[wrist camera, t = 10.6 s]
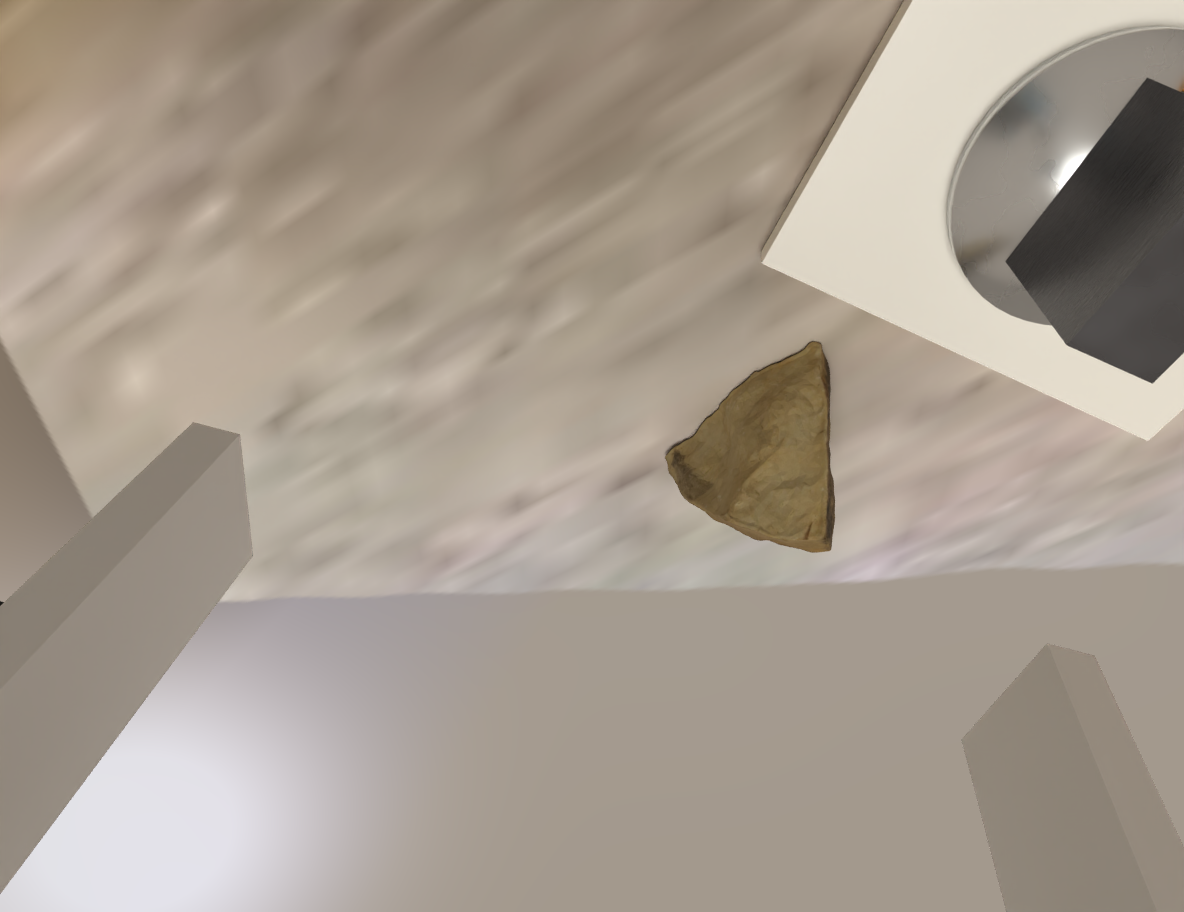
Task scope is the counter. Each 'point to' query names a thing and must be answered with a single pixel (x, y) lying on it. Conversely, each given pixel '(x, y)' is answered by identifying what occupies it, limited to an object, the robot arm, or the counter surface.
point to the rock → (767, 456)
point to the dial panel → (921, 186)
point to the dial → (1084, 199)
